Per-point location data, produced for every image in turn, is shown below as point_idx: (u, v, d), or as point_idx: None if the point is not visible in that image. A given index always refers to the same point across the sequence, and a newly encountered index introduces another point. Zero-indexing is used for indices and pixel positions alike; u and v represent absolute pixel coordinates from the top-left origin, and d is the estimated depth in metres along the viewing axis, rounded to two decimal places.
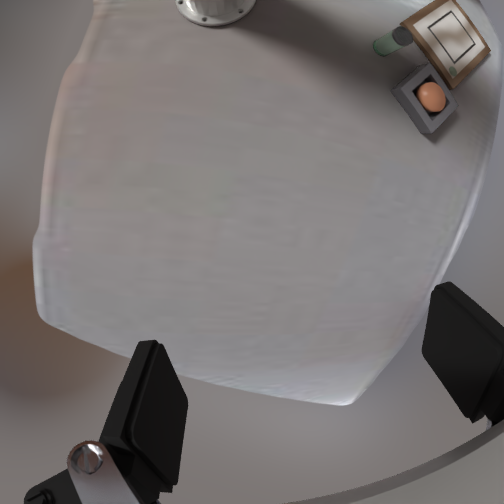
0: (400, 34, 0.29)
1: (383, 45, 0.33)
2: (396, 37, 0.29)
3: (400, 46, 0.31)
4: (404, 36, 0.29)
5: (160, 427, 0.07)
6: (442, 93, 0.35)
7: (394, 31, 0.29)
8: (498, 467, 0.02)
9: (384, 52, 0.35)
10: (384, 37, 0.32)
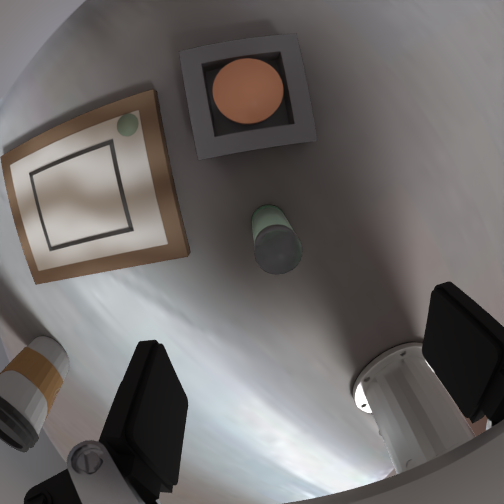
0: (289, 257, 0.19)
1: None
2: (301, 253, 0.19)
3: (288, 226, 0.20)
4: (281, 250, 0.19)
5: (160, 427, 0.07)
6: (218, 87, 0.18)
7: None
8: (498, 467, 0.02)
9: (283, 215, 0.24)
10: None
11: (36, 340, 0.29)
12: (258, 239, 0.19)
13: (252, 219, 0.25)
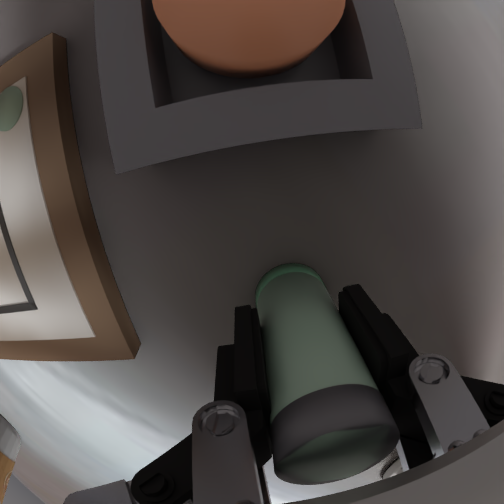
0: (361, 461, 0.05)
1: None
2: (389, 443, 0.06)
3: (364, 376, 0.06)
4: (346, 455, 0.05)
5: None
6: None
7: None
8: (498, 467, 0.02)
9: (328, 294, 0.11)
10: None
11: None
12: (287, 444, 0.05)
13: (258, 297, 0.12)
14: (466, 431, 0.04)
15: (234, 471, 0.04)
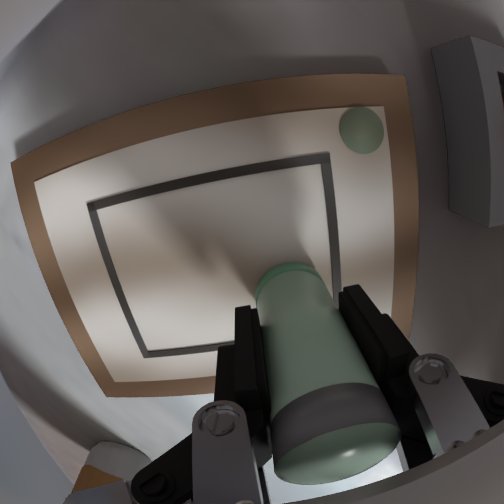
0: (362, 460, 0.05)
1: None
2: (391, 443, 0.06)
3: (365, 374, 0.06)
4: (347, 455, 0.05)
5: None
6: None
7: None
8: (498, 467, 0.02)
9: (328, 292, 0.11)
10: None
11: (104, 452, 0.18)
12: (287, 443, 0.05)
13: (258, 296, 0.12)
14: (466, 431, 0.04)
15: (234, 471, 0.04)
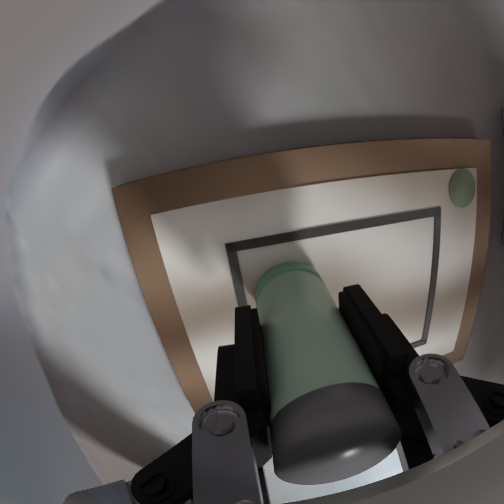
0: (362, 460, 0.05)
1: None
2: (391, 443, 0.06)
3: (365, 374, 0.06)
4: (347, 455, 0.05)
5: None
6: None
7: None
8: (498, 467, 0.02)
9: (328, 292, 0.11)
10: None
11: None
12: (287, 443, 0.05)
13: (258, 296, 0.12)
14: (466, 431, 0.04)
15: (234, 471, 0.04)
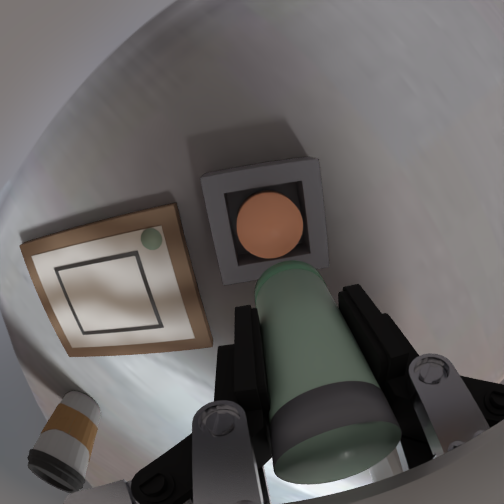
0: (362, 460, 0.05)
1: None
2: (391, 442, 0.06)
3: (365, 373, 0.06)
4: (347, 454, 0.05)
5: None
6: (242, 225, 0.22)
7: None
8: (498, 467, 0.02)
9: (328, 291, 0.11)
10: None
11: (70, 396, 0.32)
12: (287, 442, 0.05)
13: (257, 295, 0.12)
14: (466, 431, 0.04)
15: (234, 471, 0.04)
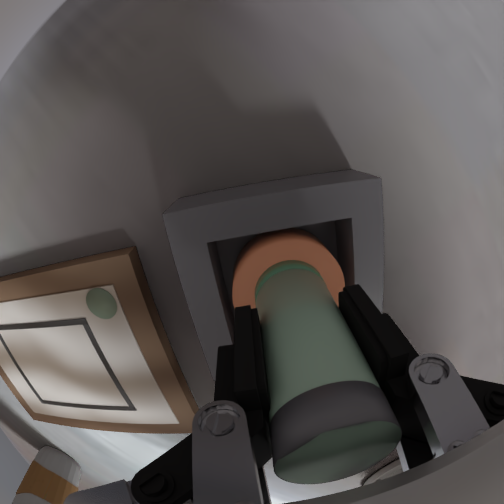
0: (363, 460, 0.05)
1: None
2: (392, 442, 0.06)
3: (365, 373, 0.06)
4: (347, 454, 0.05)
5: None
6: (242, 292, 0.13)
7: None
8: (498, 467, 0.02)
9: (328, 291, 0.11)
10: None
11: (44, 453, 0.22)
12: (287, 442, 0.05)
13: (257, 294, 0.12)
14: (466, 431, 0.04)
15: (234, 471, 0.04)
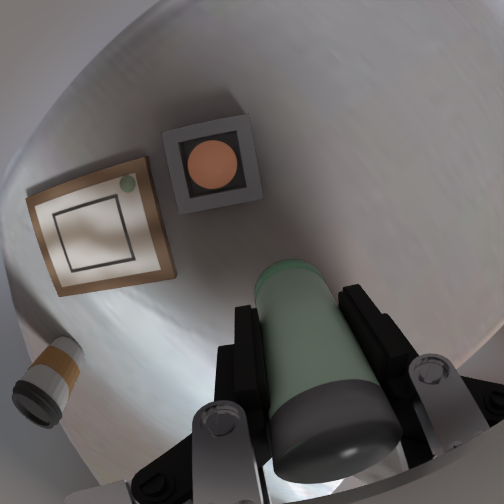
0: (363, 459, 0.05)
1: None
2: (392, 442, 0.06)
3: (366, 371, 0.06)
4: (347, 453, 0.05)
5: None
6: (191, 163, 0.29)
7: None
8: (498, 467, 0.02)
9: (328, 290, 0.11)
10: None
11: (57, 340, 0.38)
12: (287, 441, 0.05)
13: (257, 293, 0.12)
14: (466, 431, 0.04)
15: (234, 471, 0.04)
